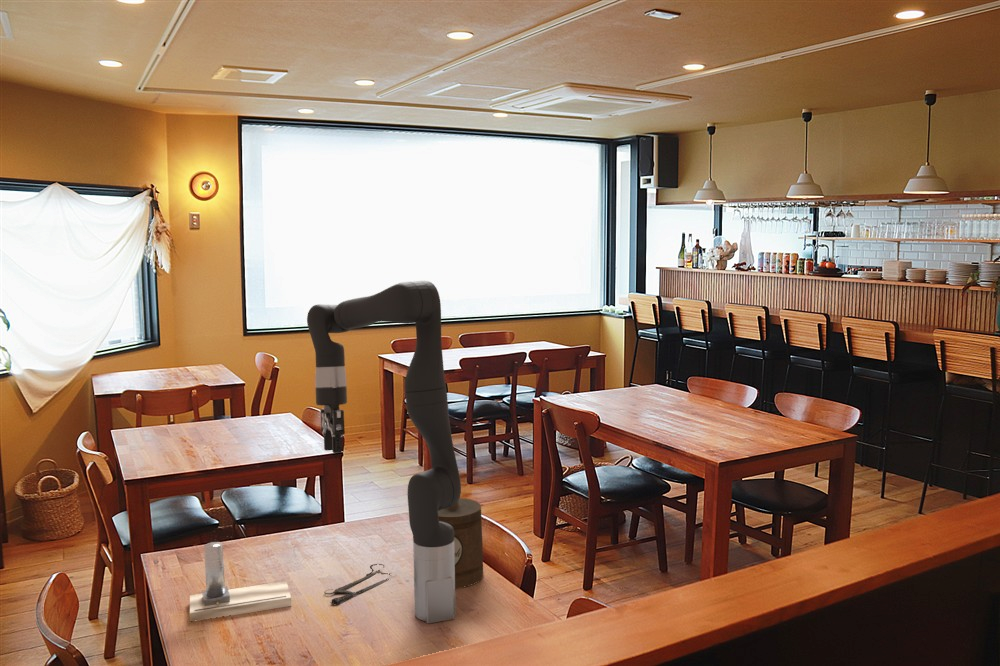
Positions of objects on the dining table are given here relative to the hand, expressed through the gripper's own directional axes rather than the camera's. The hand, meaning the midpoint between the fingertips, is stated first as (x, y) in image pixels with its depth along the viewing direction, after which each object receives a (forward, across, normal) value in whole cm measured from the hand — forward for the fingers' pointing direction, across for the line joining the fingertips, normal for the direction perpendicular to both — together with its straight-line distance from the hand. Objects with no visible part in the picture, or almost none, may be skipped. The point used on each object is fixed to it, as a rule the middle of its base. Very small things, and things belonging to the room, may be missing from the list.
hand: (333, 451), depth 203 cm
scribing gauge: (+32, -1, -28) cm, 42 cm away
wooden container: (+33, +6, +28) cm, 44 cm away
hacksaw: (+33, 0, +5) cm, 34 cm away
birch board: (+34, -1, -23) cm, 41 cm away
